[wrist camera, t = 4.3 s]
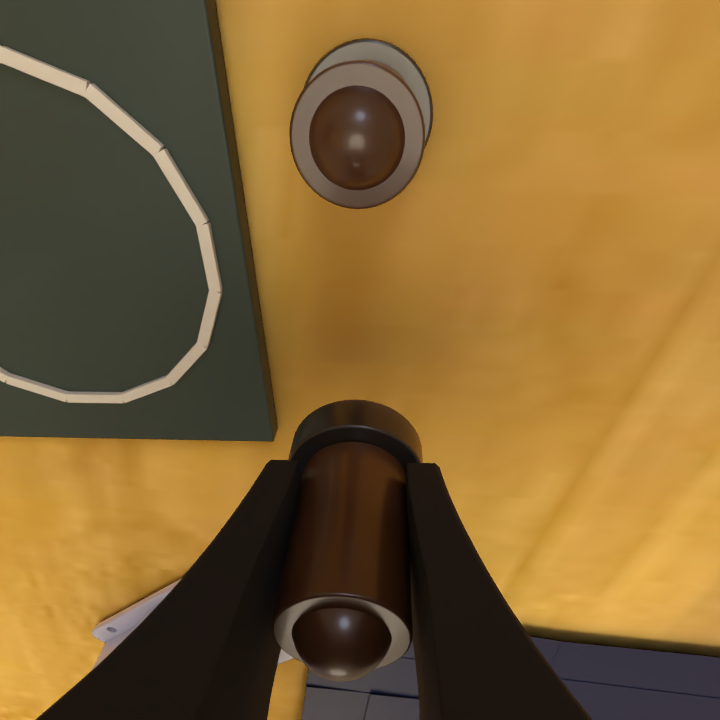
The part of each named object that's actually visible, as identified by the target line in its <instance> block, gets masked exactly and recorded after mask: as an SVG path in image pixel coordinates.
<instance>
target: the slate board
mask: <svg viewBox="0 0 720 720" xmlns="http://www.w3.org/2000/svg"><path fill="white" fill-rule="evenodd" d="M277 429H278V427H277V420H276V413H275V406H274V399H273V392H272V386H271V379H270V372H269V365H268V358H267V352H266V345H265V338H264V331H263V324H262V317H261V311H260V304H259V297H258V290H257V283H256V277H255V270H254V263H253V256H252V249H251V243H250V236H249V229H248V222H247V215H246V208H245V202H244V195H243V188H242V181H241V174H240V168H239V161H238V154H237V147H236V140H235V133H234V127H233V120H232V113H231V106H230V99H229V93H228V86H227V79H226V72H225V65H224V59H223V52H222V45H221V38H220V31H219V24H218V18H217V11H216V4H215V0H0V436H14V437H65V438H117V439H169V440H221V441H274V438H275V435H276V432H277Z"/></svg>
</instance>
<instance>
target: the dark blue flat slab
mask: <svg viewBox="0 0 720 720" xmlns="http://www.w3.org/2000/svg"><path fill="white" fill-rule="evenodd" d="M529 637H530V636H529ZM530 638H531V639H532V641H533V642H534V644H535V645H536V647H537V648H538V649H539V651H540V652H541V653H542V655H543V656H544V658H545V659H546V660H547V662H548V663H549V665H550V666H551V667H552V669H553V670H554V671H555V673H556V674H557V675H558V677H559V678H560V679H561V681H562V682H563V683H564V684H565V686H566V687H567V688H568V689H569V691H570V692H571V693H572V694H573V696H574V697H575V698H576V699H577V701H578V702H579V703H580V704H581V706H582V707H583V708H584V710H585V711H586V712H587V713H588V715H589V716H590V717H591V718H592V720H720V658H719V657H709V656H699V655H689V654H679V653H669V652H660V651H650V650H640V649H630V648H620V647H610V646H600V645H590V644H580V643H571V642H561V641H555V640H549V639H543V638H537V637H530ZM301 720H420V711H419V696H418V683H417V673H416V664H415V655H414V647H413V639H412V643H411V645H410V647H409V649H408V651H407V652H406V653H405V654H404V655H403V656H402V657H401V658H400V659H398V660H397V661H395V662H393V663H391V664H389V665H387V666H384V667H381V668H378V669H374V670H373V671H371V672H370V673H369V674H367V675H366V676H364V677H361V678H359V679H357V680H353V681H347V682H336V681H331V680H327V679H325V678H322V677H320V676H318V675H317V674H315V673H314V672H313V671H311V670H310V669H309V672H308V678H307V684H306V690H305V699H304V705H303V712H302V718H301Z"/></svg>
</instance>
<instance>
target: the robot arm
mask: <svg viewBox="0 0 720 720" xmlns="http://www.w3.org/2000/svg"><path fill="white" fill-rule="evenodd" d="M300 485H301V480H300V471H299V463H298V460H270V461H269V462H268V463H267V464H266V465H265V467H264V469H263V470H262V472H261V473H260V475H259V477H258V478H257V480H256V481H255V483H254V484H253V486H252V487H251V489H250V490H249V492H248V493H247V495H246V496H245V498H244V499H243V500H242V502H241V503H240V505H239V506H238V508H237V509H236V510H235V512H234V513H233V514H232V516H231V517H230V518H229V520H228V521H227V522H226V524H225V525H224V526H223V528H222V529H221V531H220V532H219V533H218V535H217V536H216V537H215V539H214V540H213V541H212V542H211V544H210V545H209V546H208V547H207V549H206V550H205V551H204V552H203V553H202V555H201V556H200V557H199V558H198V560H197V561H196V562H195V563H194V564H193V566H192V567H191V568H190V569H189V570H188V572H187V573H186V574H185V575H184V576H183V578H181V579H179V580H178V581H176V582H174V583H172V584H170V585H168V586H167V587H165V588H163V589H161V590H159V591H157V592H156V593H154V594H152V595H150V596H148V597H146V598H145V599H143V600H141V601H139V602H137V603H135V604H133V605H132V606H130V607H128V608H126V609H124V610H122V611H121V612H119V613H117V614H115V615H113V616H111V617H110V618H108V619H106V620H104V621H102V622H100V623H99V624H97V625H96V626H95V627H94V629H93V631H92V635H93V636H94V637H95V638H97V639H99V640H101V641H102V642H104V643H105V644H104V646H103V649H102V651H101V653H100V655H99V657H98V659H97V661H96V663H95V665H94V667H93V669H92V671H91V672H90V673H89V674H87V675H86V676H85V677H84V678H83V679H82V680H81V681H80V682H79V683H77V684H76V685H75V686H74V687H73V688H72V689H70V690H69V691H68V692H67V693H66V694H65V695H64V696H62V697H61V698H60V699H59V700H58V701H57V702H55V703H54V704H53V705H52V706H51V707H50V708H49V709H47V710H46V711H45V712H44V713H43V714H42V715H40V716H39V717H38V718H37V719H36V720H267V716H268V710H269V703H270V697H271V692H272V687H273V682H274V677H275V672H276V668H277V664H280V663H283V662H285V661H288V660H290V659H293V657H291V656H290V655H289V654H287V653H286V652H285V651H284V650H282V649H281V648H280V646H279V645H278V644H277V643H276V641H275V639H274V637H273V634H272V627H271V625H272V619H273V614H274V609H275V604H276V600H277V595H278V590H279V585H280V581H281V576H282V571H283V566H284V561H285V557H286V552H287V547H288V542H289V538H290V533H291V528H292V523H293V519H294V514H295V509H296V504H297V500H298V495H299V490H300ZM406 503H407V526H408V536H409V552H410V576H411V601H412V626H413V647H414V655H415V664H416V673H417V683H418V696H419V711H420V720H592V718H591V717H590V716H589V715H588V713H587V712H586V711H585V710H584V708H583V707H582V706H581V704H580V703H579V702H578V701H577V699H576V698H575V697H574V696H573V694H572V693H571V692H570V691H569V689H568V688H567V687H566V686H565V684H564V683H563V682H562V681H561V679H560V678H559V677H558V675H557V674H556V673H555V671H554V670H553V669H552V667H551V666H550V665H549V663H548V662H547V660H546V659H545V658H544V656H543V655H542V653H541V652H540V651H539V649H538V648H537V647H536V645H535V644H534V642H533V641H532V639H531V638H530V637H529V635H528V634H527V632H526V631H525V629H524V628H523V626H522V625H521V623H520V622H519V620H518V619H517V617H516V616H515V614H514V613H513V611H512V610H511V608H510V607H509V605H508V604H507V602H506V600H505V599H504V597H503V596H502V594H501V592H500V591H499V589H498V587H497V586H496V584H495V582H494V581H493V579H492V577H491V576H490V574H489V572H488V571H487V569H486V567H485V565H484V564H483V562H482V560H481V558H480V556H479V555H478V553H477V551H476V549H475V547H474V545H473V543H472V541H471V539H470V538H469V536H468V534H467V532H466V530H465V528H464V526H463V524H462V522H461V520H460V518H459V516H458V513H457V511H456V509H455V507H454V504H453V502H452V500H451V498H450V495H449V493H448V490H447V488H446V485H445V482H444V480H443V477H442V474H441V470H440V467H439V466H437V465H436V464H435V463H407V470H406Z"/></svg>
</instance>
